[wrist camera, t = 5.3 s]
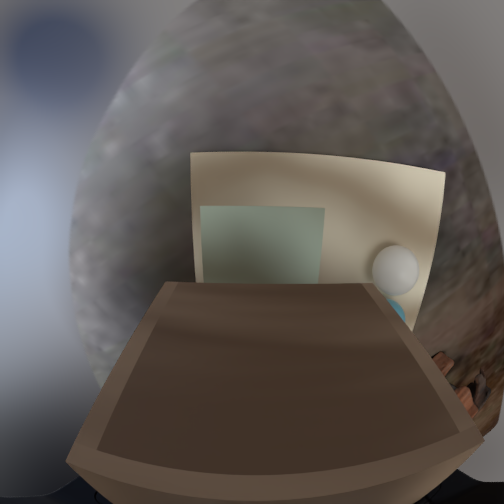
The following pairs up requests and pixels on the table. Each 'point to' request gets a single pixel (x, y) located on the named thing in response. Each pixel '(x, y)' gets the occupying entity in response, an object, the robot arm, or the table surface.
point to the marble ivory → (395, 270)
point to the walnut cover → (272, 402)
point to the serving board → (310, 219)
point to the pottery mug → (469, 395)
